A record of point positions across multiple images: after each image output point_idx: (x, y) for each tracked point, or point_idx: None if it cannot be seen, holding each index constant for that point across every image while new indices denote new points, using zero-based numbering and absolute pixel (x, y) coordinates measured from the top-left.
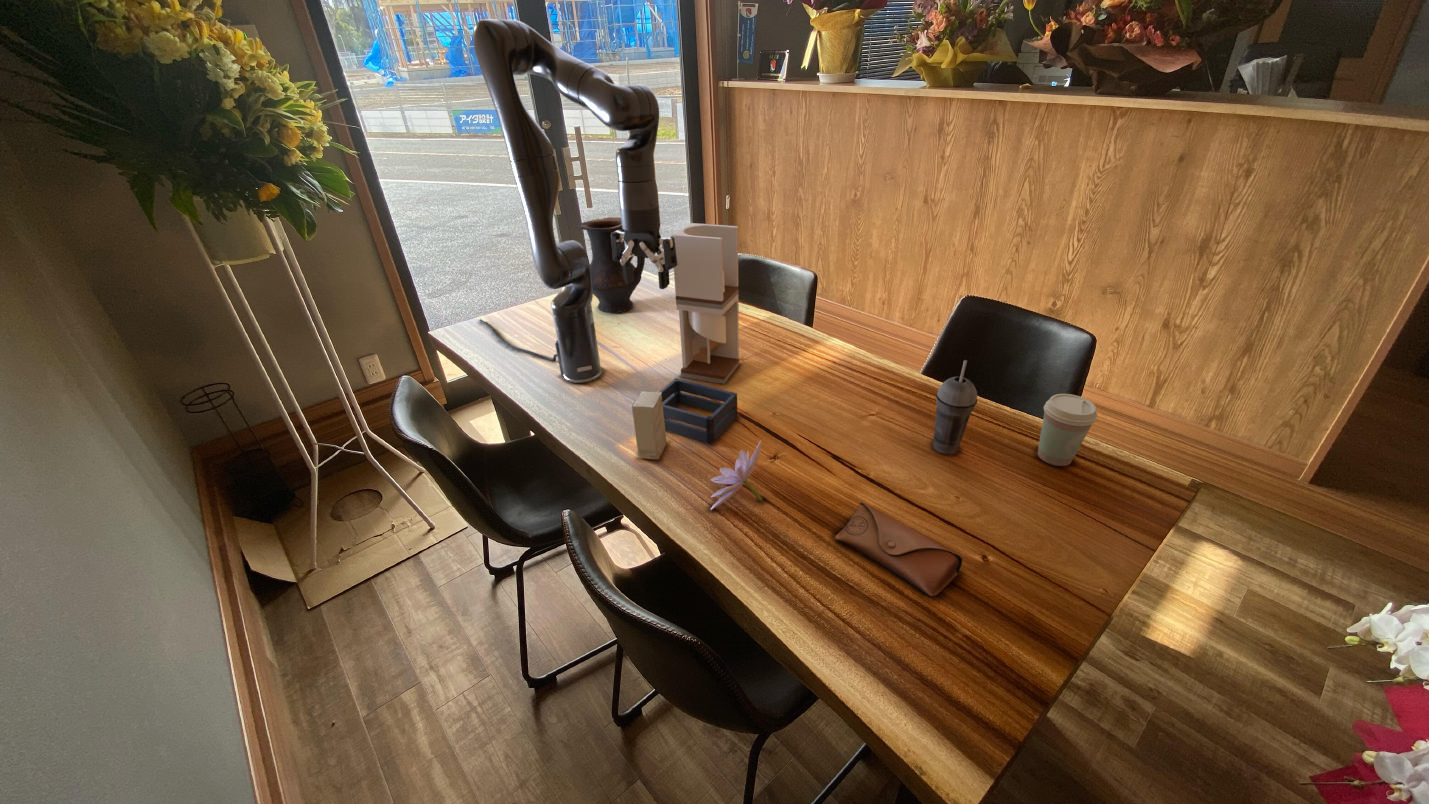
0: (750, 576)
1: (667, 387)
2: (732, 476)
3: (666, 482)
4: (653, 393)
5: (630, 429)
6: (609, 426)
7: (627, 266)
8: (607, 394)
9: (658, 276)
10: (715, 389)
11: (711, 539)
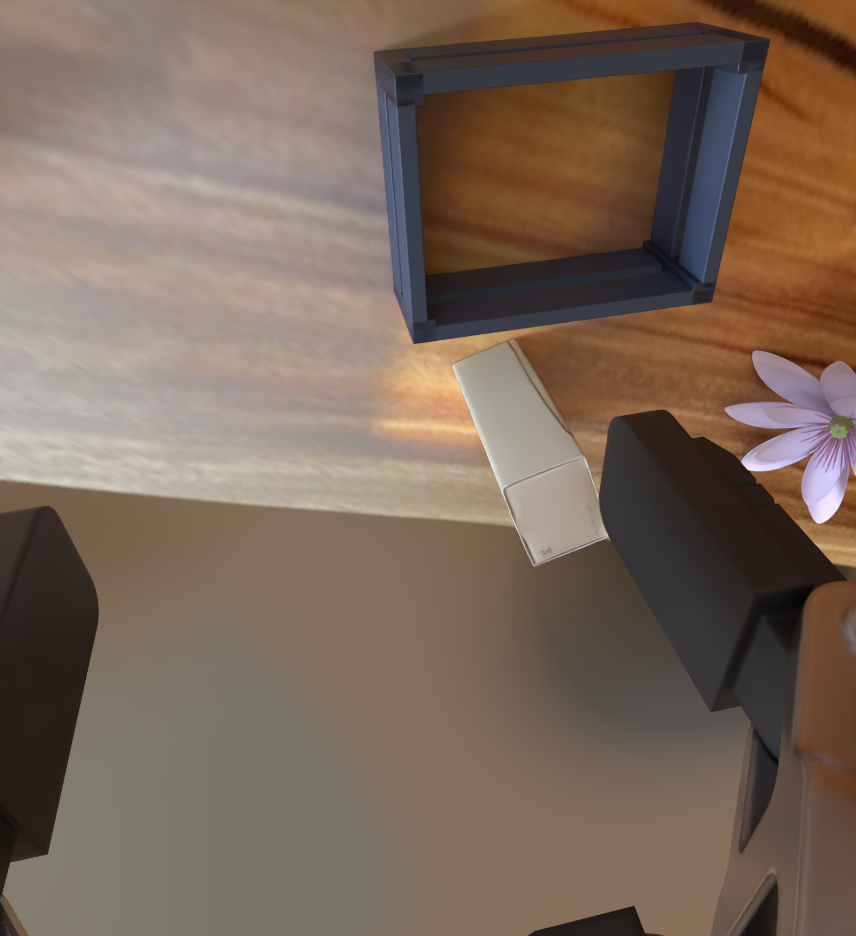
0: (848, 533)
1: (418, 192)
2: (808, 423)
3: None
4: (559, 477)
5: (351, 346)
6: (270, 375)
7: (37, 829)
8: (31, 203)
9: (675, 649)
10: (652, 65)
11: None
